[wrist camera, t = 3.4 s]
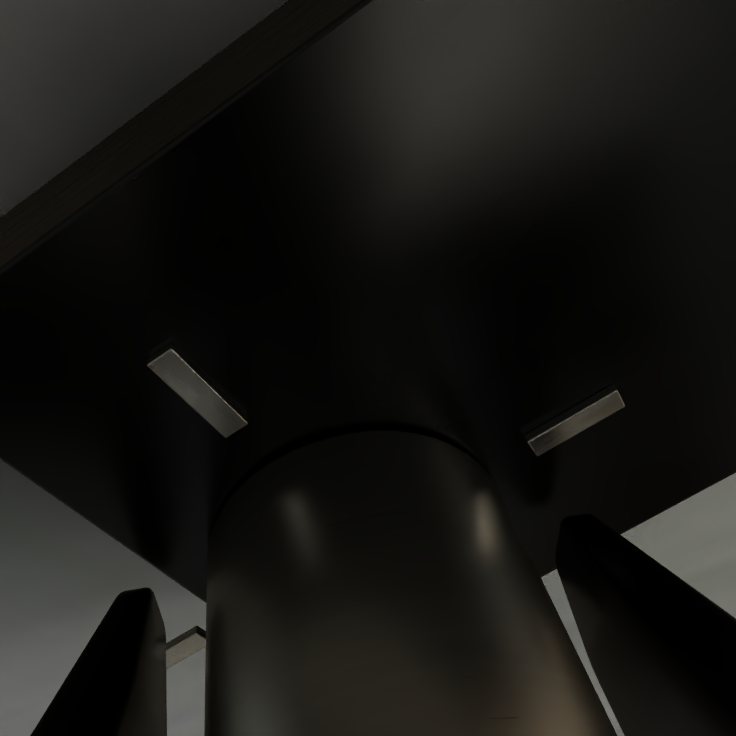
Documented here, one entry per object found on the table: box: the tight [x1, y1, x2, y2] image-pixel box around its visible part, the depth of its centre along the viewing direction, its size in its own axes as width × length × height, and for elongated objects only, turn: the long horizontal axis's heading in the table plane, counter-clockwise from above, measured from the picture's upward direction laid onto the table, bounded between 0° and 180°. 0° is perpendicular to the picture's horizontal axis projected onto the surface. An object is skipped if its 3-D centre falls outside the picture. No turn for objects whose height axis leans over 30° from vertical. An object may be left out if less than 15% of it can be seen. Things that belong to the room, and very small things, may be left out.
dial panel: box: [0, 0, 736, 669], centre depth 10 cm, size 14×10×3 cm
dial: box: [204, 430, 617, 736], centre depth 8 cm, size 4×4×5 cm
